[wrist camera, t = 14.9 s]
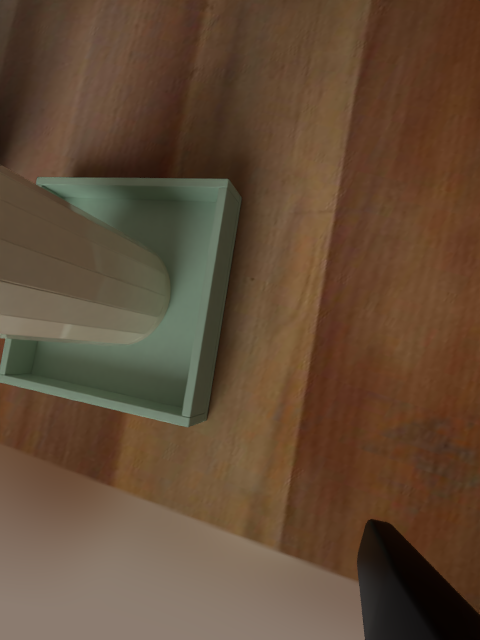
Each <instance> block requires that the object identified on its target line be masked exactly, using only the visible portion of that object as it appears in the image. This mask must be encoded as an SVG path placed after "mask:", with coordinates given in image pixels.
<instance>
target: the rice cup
mask: <svg viewBox="0 0 480 640" xmlns="http://www.w3.org/2000/svg"><path fill="white" fill-rule="evenodd" d="M170 295H171V285H170V278H169V274H168V271H167V268H166V266H165V264H164V262H163V261H162V260H161V258H160V257H159V256H158V255H157V254H156V253H155V252H154V251H153V250H151V249H150V248H148V247H146V246H145V245H144V244H143V243H141V242H139V241H137V240H135V239H134V238H132V237H130V236H128V235H126V234H124V233H123V232H121V231H119V230H117V229H115V228H114V227H112V226H110V225H108V224H106V223H105V222H103V221H101V220H99V219H97V218H96V217H94V216H92V215H90V214H88V213H87V212H85V211H83V210H81V209H79V208H78V207H76V206H74V205H72V204H70V203H69V202H67V201H65V200H63V199H61V198H60V197H58V196H56V195H54V194H52V193H51V192H49V191H47V190H45V189H43V188H42V187H40V186H38V185H36V184H34V183H33V182H31V181H29V180H27V179H25V178H24V177H22V176H20V175H18V174H16V173H14V172H13V171H11V170H9V169H7V168H5V167H4V166H2V165H0V338H6V339H20V340H35V341H49V342H63V343H78V344H92V345H106V346H114V345H118V346H125V345H131V344H134V343H137V342H139V341H141V340H143V339H145V338H146V337H148V336H149V335H150V334H151V333H152V332H154V330H155V329H156V328H157V327H158V326H159V324H160V323H161V321H162V320H163V318H164V316H165V314H166V311H167V309H168V305H169V302H170Z"/></svg>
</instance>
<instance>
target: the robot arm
mask: <svg viewBox="0 0 480 640" xmlns="http://www.w3.org/2000/svg"><path fill="white" fill-rule="evenodd" d="M357 567H358V577H359V586H360V596H361V605H362V615H363V625H364V634H365V640H480V615H479V614H478V613H477V612H476V611H475V610H474V609H473V607H472V606H471V605H470V604H469V603H468V602H467V601H466V600H465V599H464V598H463V597H462V596H461V595H460V594H459V593H458V592H457V591H456V590H455V589H454V588H453V587H452V586H451V585H450V584H449V583H448V582H447V581H446V580H445V579H444V578H443V577H442V576H441V575H440V574H439V573H438V572H437V571H436V570H435V569H434V568H433V567H432V566H431V564H430V563H429V562H428V561H427V560H426V559H425V558H424V557H423V556H422V555H421V554H420V553H419V552H418V551H417V550H416V549H415V548H414V547H413V546H412V545H411V544H410V543H409V542H408V541H407V540H406V539H405V538H404V537H403V536H402V535H401V534H400V533H399V532H398V531H397V530H396V529H395V528H394V527H393V526H392V525H391V524H390V523H388V522H383V521H378V520H374V519H370V520H368V521H367V523H366V525H365V529H364V533H363V536H362V540H361V544H360V548H359V552H358V558H357Z"/></svg>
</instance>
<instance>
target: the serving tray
mask: <svg viewBox="0 0 480 640" xmlns="http://www.w3.org/2000/svg"><path fill="white" fill-rule="evenodd" d="M36 185H38V186H40V187H42V188H43V189H45V190H47V191H49V192H51V193H52V194H54V195H56V196H58V197H60V198H61V199H63V200H65V201H67V202H69V203H70V204H72V205H74V206H76V207H78V208H79V209H81V210H83V211H85V212H87V213H88V214H90V215H92V216H94V217H96V218H97V219H99V220H101V221H103V222H105V223H106V224H108V225H110V226H112V227H114V228H115V229H117V230H119V231H121V232H123V233H124V234H126V235H128V236H130V237H132V238H134V239H135V240H137V241H139V242H141V243H143V244H144V245H145V246H146V247H148V248H150V249H151V250H153V251H154V252H155V253H156V254H157V255H158V256H159V257H160V258H161V260H162V261H163V262H164V264H165V266H166V268H167V271H168V274H169V278H170V285H171V295H170V302H169V305H168V309H167V311H166V314H165V316H164V318H163V320H162V321H161V323H160V324H159V326H158V327H157V328H156V329H155V330H154V332H152V333H151V334H150V335H149V336H148V337H146V338H145V339H143V340H141V341H139V342H137V343H134V344H131V345H125V346H118V345H114V346H106V345H92V344H78V343H63V342H49V341H35V340H20V339H6V340H5V345H4V350H3V355H2V360H1V365H0V382H1V383H5V384H10V385H14V386H18V387H22V388H26V389H30V390H35V391H39V392H43V393H47V394H51V395H55V396H60V397H64V398H68V399H72V400H76V401H80V402H85V403H89V404H93V405H97V406H101V407H105V408H110V409H114V410H118V411H122V412H126V413H130V414H135V415H139V416H143V417H147V418H151V419H155V420H160V421H164V422H168V423H172V424H176V425H180V426H185V427H190V426H193V425H195V424H198V423H201V422H203V421H206V420H207V414H208V408H209V401H210V395H211V389H212V382H213V376H214V370H215V364H216V357H217V351H218V345H219V338H220V332H221V326H222V319H223V313H224V307H225V301H226V294H227V288H228V282H229V275H230V269H231V263H232V256H233V250H234V244H235V238H236V231H237V225H238V219H239V212H240V206H241V200H242V197H241V196H240V194H239V193H238V192H237V190H236V189H235V187H234V186H233V185H232V183H231V182H230V180H229V179H198V178H82V177H37V182H36Z"/></svg>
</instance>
